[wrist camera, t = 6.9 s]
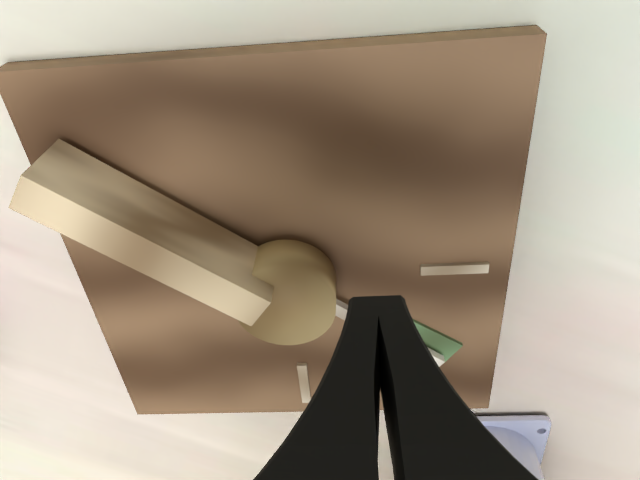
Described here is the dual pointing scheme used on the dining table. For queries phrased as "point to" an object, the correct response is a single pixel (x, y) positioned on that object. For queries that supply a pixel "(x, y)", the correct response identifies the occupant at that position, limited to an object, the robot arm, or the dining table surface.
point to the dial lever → (184, 247)
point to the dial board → (303, 192)
